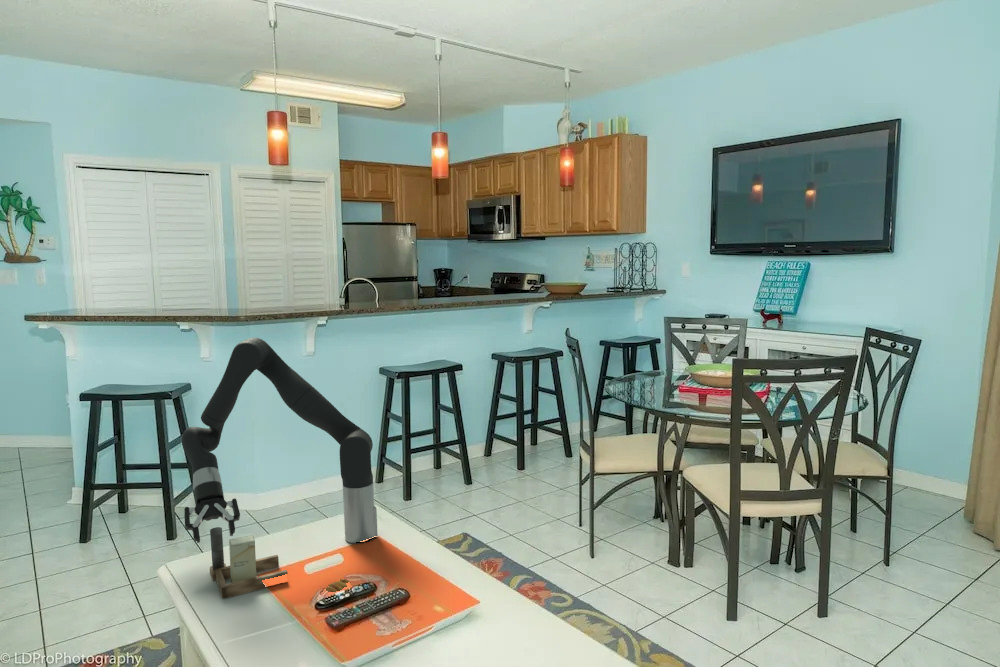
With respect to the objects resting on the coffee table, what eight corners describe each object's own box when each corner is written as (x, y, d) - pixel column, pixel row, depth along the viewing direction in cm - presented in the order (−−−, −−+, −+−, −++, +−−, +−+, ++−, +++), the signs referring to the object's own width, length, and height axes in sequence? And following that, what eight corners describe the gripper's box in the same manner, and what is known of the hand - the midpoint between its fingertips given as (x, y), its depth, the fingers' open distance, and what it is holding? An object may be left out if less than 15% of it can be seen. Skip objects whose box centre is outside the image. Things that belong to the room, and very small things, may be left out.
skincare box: (232, 590, 169) (229, 545, 168) (230, 583, 173) (228, 539, 172) (257, 584, 172) (255, 540, 171) (255, 577, 176) (253, 534, 175)
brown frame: (273, 557, 188) (271, 515, 187) (288, 582, 173) (285, 537, 171) (210, 571, 180) (207, 528, 179) (219, 599, 164) (216, 552, 163)
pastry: (326, 611, 158) (325, 596, 158) (309, 603, 162) (308, 588, 162) (356, 595, 166) (356, 581, 165) (339, 588, 170) (339, 574, 169)
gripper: (181, 484, 183) (187, 537, 174) (234, 476, 190) (243, 526, 181) (180, 497, 188) (186, 549, 179) (233, 488, 195) (241, 538, 186)
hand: (215, 538), depth 180 cm, fingers open, 8 cm apart
